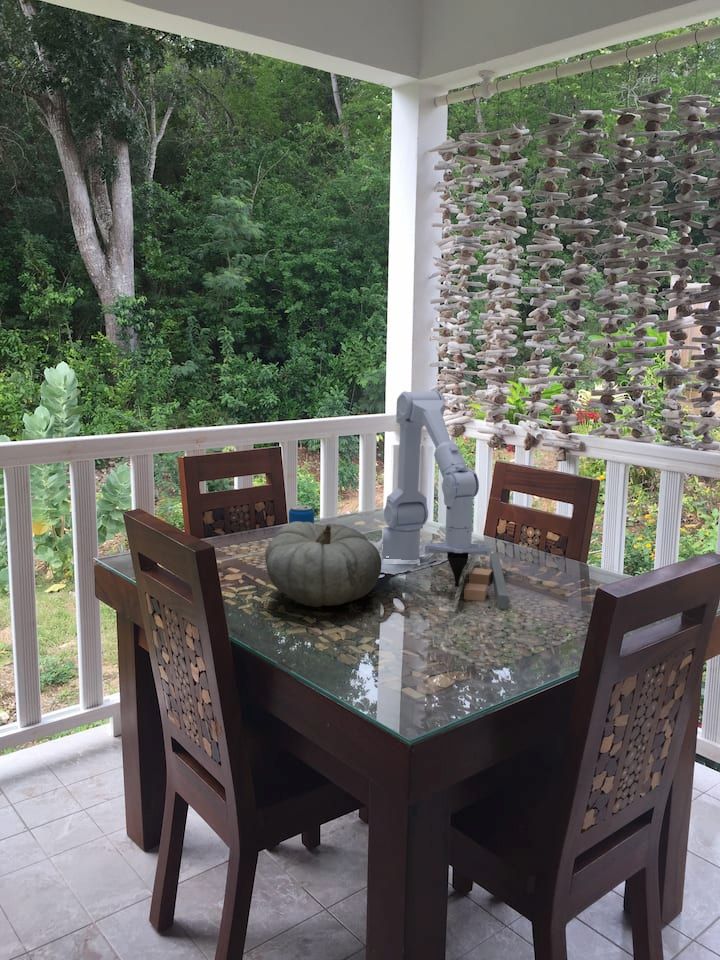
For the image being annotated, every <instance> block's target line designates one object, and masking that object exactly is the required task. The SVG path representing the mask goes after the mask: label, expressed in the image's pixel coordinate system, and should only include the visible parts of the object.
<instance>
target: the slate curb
mask: <svg viewBox="0 0 720 960" xmlns="http://www.w3.org/2000/svg"><path fill="white" fill-rule="evenodd" d="M489 570H493V574H492V581H491V582H492V586H493V591H494V595H495V602H496V605H497V606H496V608H497V610H508V607H509V606H508V605H509V594H508V590H507V585H506V581H505V577H504V572H503V569H502V564H501V560H500V556H499V554H498V553H491V556H489Z"/></svg>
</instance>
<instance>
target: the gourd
mask: <svg viewBox="0 0 720 960" xmlns="http://www.w3.org/2000/svg"><path fill="white" fill-rule="evenodd" d="M264 560H265V564H266V571H267V576H268V577H269V579H270V581H271V583H272V584H273V585H274V587H276V589H277V590H278V591H279V592H281V593H283V595H285V596H287V597H289V598H290V599H292V600H293V601H295V602H296V603H299V604H300V605H304V606H306V607H314V608H320V607H323V606H326V607H327V606H339V605H342V604H345V603H351V602H353V601H354V600H359V599H361V598H364V596H366V595H368V594H369V593H370V592H371V591H373V589H374V587H375V586H376V584H377V583H378V580H379V578H380V576H381V572H382V556H381V555H380V551H379V550H378V548H377V547H376V546H375V545H374V544H373V543H372V542H371V541H370V540H369V539H368V538H367V537H366V536H365V535H364V534H363V533H361V532H360V531H358V530H357V529H354V528H353V527H349V526H347V525H345V524H344V525H343V524H336V523H326V524H323V525H322V524H318V523H315V522H314V523H311V522H299V521H296V522H291V523H289V522H288V523H286V524H284V525H282V526H281V527H280V528H279V530H278V531H277V532H276V533H275V535H274V537H273V538H272V539H271V540H270V542H269V543H268V545H267V547H266V550H265V559H264Z"/></svg>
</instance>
